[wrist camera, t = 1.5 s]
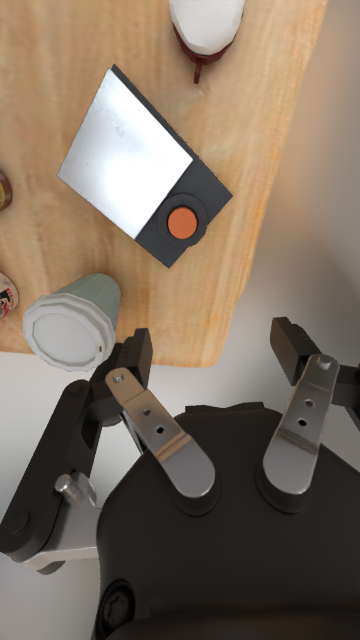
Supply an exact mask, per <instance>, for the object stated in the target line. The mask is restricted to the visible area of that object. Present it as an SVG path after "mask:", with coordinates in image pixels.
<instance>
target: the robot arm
mask: <svg viewBox="0 0 360 640" xmlns="http://www.w3.org/2000/svg"><path fill="white" fill-rule="evenodd" d="M270 343H271V347H272V349H273V351H274V353H275V355H276V357H277V359H278V361H279V363H280V365H281V367H282V369H283V371H284V372H285V374H286V376H287V378H288V380H289V382H290V384H291V386H295V389H294V391H293V393H292V395H291V398H290V400H289V403H288V405H287V407H286V409H285V412H284V414H281V413H279V412H277V411H274V410H271V409H268V408H265V407H264V404H263V402H248V403H241V404H237V405H234V406H231V407H227V408H219V407H213V406H207V405H196V406H185V412H184V413H181V414H179V415H177V416H175V417H174V418H172V417H171V415H170V414H169V413H168V412H167V410H166V409H165V408H164V407H163V406H162V405H161V403H160V402H159V401H158V400H157V398H156V397H155V396H154V395H153V394H152V392H151V391H150V390H149V389H147V386H148V379H149V373H150V367H151V361H152V355H153V349H152V343H151V339H150V334H149V330H148V328H137V329H136V330H135V334H134V336H132V337H128V338H127V339H126V340H125V341H124V343H123V346H122V349H121V353H120V355H119V358H118V361H117V364H116V367H115V369H114V370H112V371H110V372H109V373H108V374H107V376H106V378H105V379H104V380H102V381H99V382H96V383H93V384H90V383H89V382H88V381H87V380H83V379H82V380H77V381H74V382H72V383H70V384H69V385H68V386H67V387H66V388H65V389H64V391H63V393H62V395H61V397H60V399H59V401H58V403H57V405H56V408H55V410H54V412H53V414H52V416H51V418H50V420H49V423H48V425H47V427H46V429H45V431H44V433H43V435H42V437H41V439H40V441H39V444H38V446H37V448H36V450H35V452H34V454H33V456H32V458H31V460H30V463H29V465H28V467H27V469H26V471H25V473H24V475H23V477H22V480H21V482H20V484H19V486H18V488H17V490H16V492H15V494H14V496H13V499H12V501H11V503H10V505H9V507H8V509H7V511H6V513H5V515H4V518H3V520H2V522H1V524H0V552H2V553H4V554H6V555H7V556H9V557H11V559H12V560H13V561H15V562H17V563H19V564H20V565H22V566H25V567H26V568H28V569H30V570H33V571H37V572H39V573H41V574H43V575H48V574H51V573H53V572H55V571H56V570H58V569H59V568H60V567H61V566H62V565H63V564H64V563H65V561H66V560H75V559H84V558H94V557H99V562H100V575H101V583H100V584H101V585H100V598H99V605H98V610H97V615H96V619H95V623H94V627H93V631H92V636H91V640H360V472H358V471H357V470H356V469H354V468H353V467H352V466H351V465H349V464H348V463H347V462H345V461H344V460H343V459H341V458H340V457H339V456H337V455H336V454H335V453H334V452H332V451H331V450H330V449H328V448H327V447H326V446H324V445H323V444H322V443H321V439H322V435H323V432H324V428H325V424H326V420H327V417H328V413H329V409H330V406H331V404H334V405H339V406H344V407H345V408H346V410H347V412H348V413H349V415H350V417H351V418H352V420H353V421H354V423H355V425H356V426H357V428H358V430H359V431H360V364H359V365H358V367H350V366H344V365H340V364H339V363H338V362H337V360H335V359H334V358H333V357H331V356H328V355H325V354H322V353H321V352H320V350H319V349H318V347H317V346H316V345H315V343H314V342H313V341H312V340H311V339H310V337H309V336H308V335H307V333H306V332H305V331H304V329H303V328H301V327H300V326H298V325H297V324H291V322H290V321H289V319H288V318H287V317H277V318H273V320H272V326H271V333H270ZM117 415H119V416H120V418H121V419H122V421H123V423H124V424H125V426H126V428H127V429H128V431H129V433H130V434H131V436H132V438H133V440H134V442H135V444H136V446H137V448H138V450H139V451H140V453H141V456H140V457H139V459H138V460H137V461H136V462H135V463H134V465H133V466H132V467H131V468H130V470H129V471H128V472H127V473H126V475H125V476H124V477H123V479H122V480H121V481H120V482H119V483H118V485H117V486H116V487H115V488H114V490H113V491H112V492H111V493H110V495H109V496H108V497H107V499H106V501H105V503H104V505H103V507H102V508H97V507H96V499H97V493H96V489H95V488H94V486H93V485H92V483H91V482H90V480H89V478H90V474H91V470H92V466H93V462H94V458H95V454H96V450H97V446H98V442H99V438H100V434H101V430H102V426H103V422H104V420H106V419H109V418H112V417H114V416H117Z"/></svg>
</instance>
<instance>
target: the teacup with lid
mask: <svg viewBox="0 0 360 640" xmlns="http://www.w3.org/2000/svg"><path fill="white" fill-rule="evenodd" d="M17 304H18V292H17V290H16V288H15V286H14V284H13V283H12V282H11V281H10V280H9V279H8V278H7V277H6V276H5V275H4V274H2V273H1V272H0V320H1V319H2V318H3V317H4V316H6V315H7V314H8V313H9V312H11V311H12V310H13V309H14V308H15V307H16V306H17Z"/></svg>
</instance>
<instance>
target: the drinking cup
mask: <svg viewBox="0 0 360 640" xmlns="http://www.w3.org/2000/svg"><path fill="white" fill-rule="evenodd" d="M122 346H123V344H121V343H115V344H114V347H113V349H112V352H111V355H109V357H108V359H106V360H105V361H103V362H102V363H101V364H100V365H98V366H97V368H96V370H95V372H94V373H93V375H92V377H91V378H90V380H89V383H90V384H93V383H96V382H99V381H102V380H104V379H105V378H106V376H107V374H108V373H109V372H110V371H112V370H114V369H115V367H116V364H117V361H118V358H119V355H120V353H121V349H122ZM121 421H122V419H121V418H120V416H119V415H117V416H114V417H112V418H109V419H106V420H104V422H103V426H102V427H109V426H114V425H116V424H118V423H120V422H121Z"/></svg>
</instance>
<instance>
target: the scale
mask: <svg viewBox="0 0 360 640" xmlns="http://www.w3.org/2000/svg"><path fill="white" fill-rule="evenodd" d="M111 70H112V71H113V73H114V74H115V75H116V76H117V77H118V78H119V79H120V80H121V81H122V82H123V83H124V85H125V86H126V87H127V88H128V89H129V90H130V91H131V92H132V93H133V94H134V96H135V97H136V98H137V99H138V100H139V101H140V102H141V103H142V104H143V105H144V106H145V108H146V109H147V110H148V111H149V112H150V113H151V114H152V115H153V116H154V117H155V118H156V120H157V121H158V122H159V123H160V124H161V125H162V126H163V127H164V128H165V129H166V131H167V132H168V133H169V134H170V135H171V136H172V137H173V138H174V139H175V140H176V141H177V143H178V144H179V145H180V146H181V147H182V148H183V149H184V150H185V151H186V152H187V154H188V155H189V156H190V157H191V158H192V159H193V161H192V162H191V163H190V165H189V166H188V167H187V169H186V170H185V172H184V173H183V174H182V176H181V177H180V178H179V180H178V181H177V182H176V184H175V185H174V186H173V188H172V189H171V190H170V192H169V193H168V195H167V196H166V197H165V199H164V200H163V201H162V203H161V204H160V205H159V207H158V208H157V209H156V211H155V212H154V213H153V215H152V216H151V217H150V219H149V220H148V222H147V223H146V224H145V226H144V227H143V228H142V230H141V231H140V232H139V234H138V235H137V236H136V238H135V239H134V240H135V241H136V242H137V243H139V244H140V245H141V246H142V247H143V248H145V249H146V250H147V251H148V252H149V253H151V254H152V255H153V256H154V257H156V258H157V259H158V260H159V261H160V262H162V263H163V264H164V265H165V266H166V267H168V268H170V267H171V266H172V265H173V264H174V262H175V261H176V260H177V259H178V258H179V257H180V256H181V254H182V253H183V252H184V251H185V250H186V249H187V248H188V247H189V246H192V245H195V244H197V243H198V241H199V240H200V239H201V238H202V237H203V236H204V235H205V232H206V228H207V225H208V224H209V223H210V222H211V220H212V219H213V218H214V217H215V216H216V215H217V214H218V212H219V211H220V210H221V209H222V208H223V207H224V206H225V205H226V203H227V202H228V201H229V200H230V199H231V198H232V197H233V195H232V194H231V193H230V192H229V191H228V190H227V189H226V187H225V186H224V185H223V184H222V183H221V182H220V181H219V180H218V179H217V177H216V176H215V175H214V174H213V173H212V172H211V171H210V170H209V169H208V167H207V166H206V165H205V164H204V163H203V162H202V161H201V160H200V159H199V157H198V156H197V155H196V154H195V153H194V152H193V151H192V150H191V149H190V147H189V146H188V145H187V144H186V143H185V142H184V141H183V140H182V139H181V137H180V136H179V135H178V134H177V133H176V132H175V131H174V130H173V129H172V127H171V126H170V125H169V124H168V123H167V122H166V121H165V120H164V119H163V117H162V116H161V115H160V114H159V113H158V112H157V111H156V110H155V109H154V107H153V106H152V105H151V104H150V103H149V102H148V101H147V100H146V99H145V97H144V96H143V95H142V94H141V93H140V92H139V91H138V90H137V89H136V87H135V86H134V85H133V84H132V83H131V82H130V81H129V80H128V79H127V77H126V76H125V75H124V74H123V73H122V72H121V71H120V70H119V69H118V67H117V66H116V65H115V64H114V65H113V67H112V69H111ZM75 192H76V191H75ZM179 207H186V208H189V209H190V210H191V211H192V212H193V213H194V215H195V217H196V221H197V226H196V230H195V232H194V233H193V234H192V235H191V236H190V237H188V238H185V239H179V238H177V237H175V236H174V235H172V233H171V232H170V230H169V227H168V220H169V217H170V214H171V213H172V212H173V210H175V209H176V208H179Z"/></svg>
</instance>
